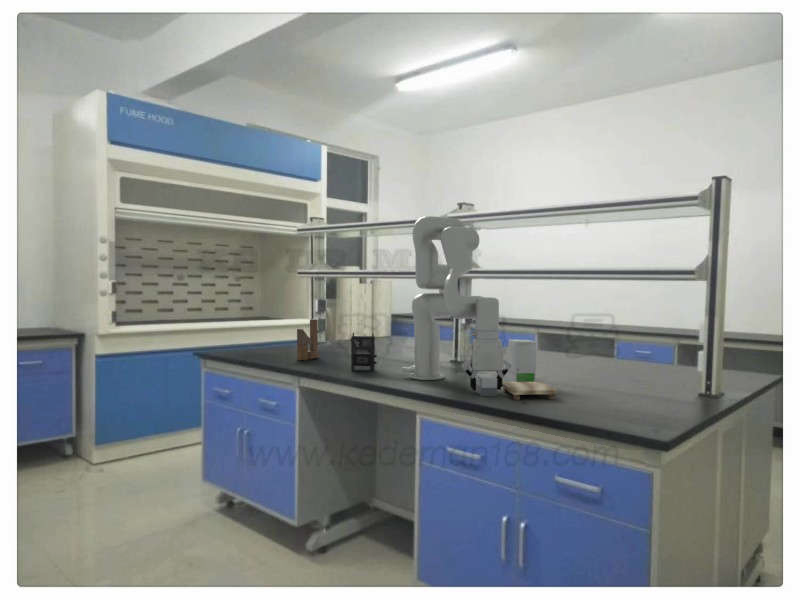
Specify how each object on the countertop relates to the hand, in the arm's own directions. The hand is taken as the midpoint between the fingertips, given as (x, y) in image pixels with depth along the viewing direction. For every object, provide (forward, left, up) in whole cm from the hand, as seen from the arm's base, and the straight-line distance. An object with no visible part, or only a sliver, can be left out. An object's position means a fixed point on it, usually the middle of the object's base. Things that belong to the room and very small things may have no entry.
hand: (486, 389), depth 182 cm
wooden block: (-62, +79, -2) cm, 100 cm away
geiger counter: (-38, +48, -2) cm, 61 cm away
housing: (0, 0, -2) cm, 2 cm away
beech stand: (+13, -3, -2) cm, 13 cm away
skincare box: (+17, +16, -2) cm, 23 cm away
